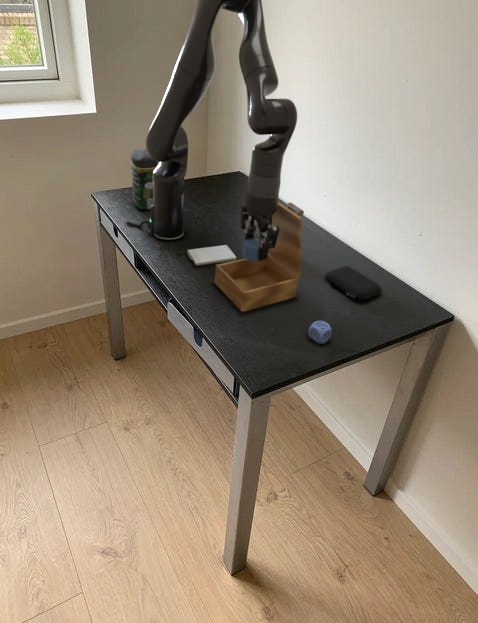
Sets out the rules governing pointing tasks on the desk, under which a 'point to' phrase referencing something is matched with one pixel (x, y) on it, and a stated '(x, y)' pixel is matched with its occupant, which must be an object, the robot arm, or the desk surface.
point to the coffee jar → (142, 179)
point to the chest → (255, 282)
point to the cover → (288, 237)
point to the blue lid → (251, 249)
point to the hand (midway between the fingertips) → (255, 253)
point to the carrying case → (353, 283)
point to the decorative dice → (320, 331)
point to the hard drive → (211, 255)
